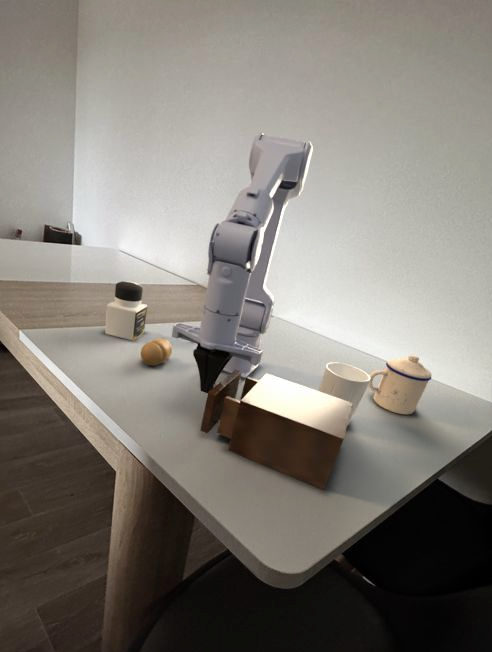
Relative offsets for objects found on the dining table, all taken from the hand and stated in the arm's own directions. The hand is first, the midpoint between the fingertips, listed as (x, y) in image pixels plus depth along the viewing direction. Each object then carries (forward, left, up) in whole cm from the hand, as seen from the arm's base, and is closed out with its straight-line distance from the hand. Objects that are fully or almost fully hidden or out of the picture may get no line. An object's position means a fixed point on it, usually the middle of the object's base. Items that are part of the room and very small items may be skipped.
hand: (206, 390), depth 64 cm
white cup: (-16, +20, -5) cm, 26 cm away
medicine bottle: (-22, -31, -5) cm, 39 cm away
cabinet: (0, +15, -5) cm, 16 cm away
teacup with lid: (-33, +30, -5) cm, 45 cm away
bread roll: (-13, -17, -5) cm, 22 cm away
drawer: (0, +8, -4) cm, 9 cm away
